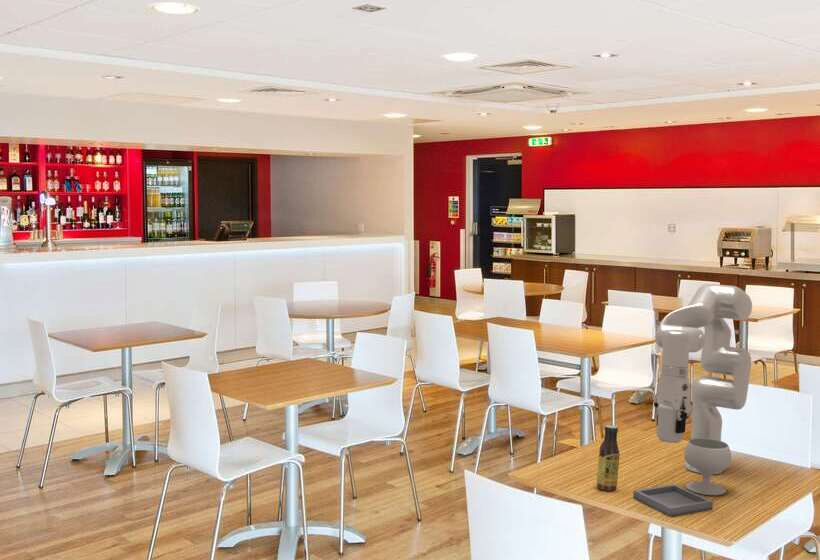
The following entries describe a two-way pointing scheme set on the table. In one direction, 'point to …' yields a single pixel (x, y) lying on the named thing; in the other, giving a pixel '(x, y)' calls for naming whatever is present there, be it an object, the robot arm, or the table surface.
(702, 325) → the robot arm
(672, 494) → the tray
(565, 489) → the table surface
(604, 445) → the sauce bottle
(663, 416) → the can
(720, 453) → the chalice
